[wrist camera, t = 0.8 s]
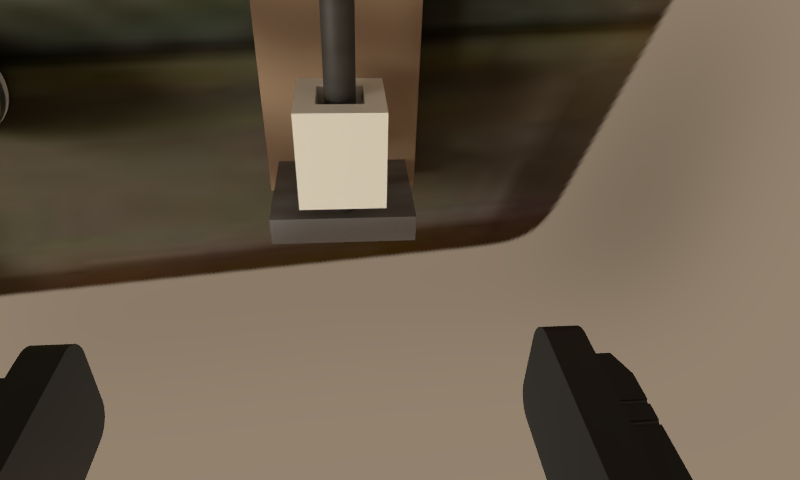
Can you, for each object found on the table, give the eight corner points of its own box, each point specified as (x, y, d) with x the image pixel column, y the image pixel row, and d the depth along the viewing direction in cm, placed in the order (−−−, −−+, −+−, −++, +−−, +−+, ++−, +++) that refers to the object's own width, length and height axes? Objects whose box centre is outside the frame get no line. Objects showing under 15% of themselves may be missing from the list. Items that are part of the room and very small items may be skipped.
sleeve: (296, 78, 23) (290, 113, 20) (382, 78, 23) (388, 112, 21) (303, 167, 25) (299, 210, 23) (380, 166, 26) (386, 208, 23)
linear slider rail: (225, -263, 20) (185, -294, 14) (430, -254, 20) (463, -279, 15) (274, 175, 30) (260, 253, 24) (410, 172, 30) (426, 248, 25)
